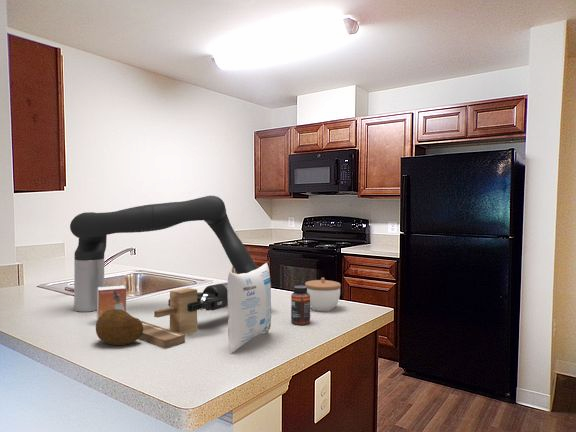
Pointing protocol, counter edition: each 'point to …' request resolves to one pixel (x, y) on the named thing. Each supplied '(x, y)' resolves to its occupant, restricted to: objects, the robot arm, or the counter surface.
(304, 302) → the supplement bottle
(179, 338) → the walnut board
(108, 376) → the counter surface
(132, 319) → the potato
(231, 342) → the pouch
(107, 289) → the small box
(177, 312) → the tan block
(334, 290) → the lidded bowl
